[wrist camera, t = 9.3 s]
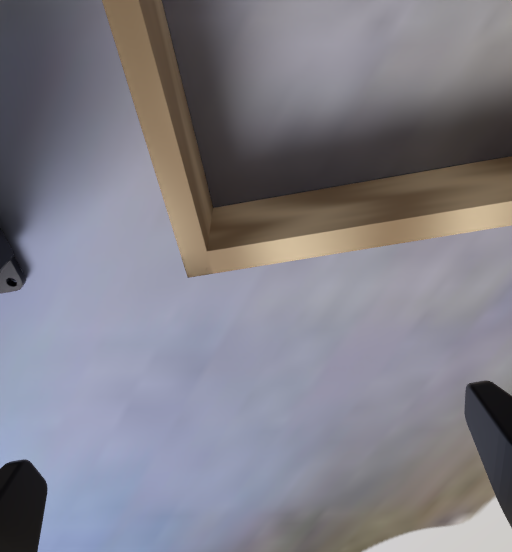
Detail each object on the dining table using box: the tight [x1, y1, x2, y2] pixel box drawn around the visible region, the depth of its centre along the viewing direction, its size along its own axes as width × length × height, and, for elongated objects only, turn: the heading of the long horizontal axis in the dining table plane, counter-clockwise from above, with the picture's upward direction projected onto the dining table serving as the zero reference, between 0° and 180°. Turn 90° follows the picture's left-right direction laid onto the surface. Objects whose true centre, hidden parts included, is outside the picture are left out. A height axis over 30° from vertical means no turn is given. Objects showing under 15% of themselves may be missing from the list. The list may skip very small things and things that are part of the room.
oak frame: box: [102, 0, 512, 278], centre depth 15 cm, size 16×14×4 cm
